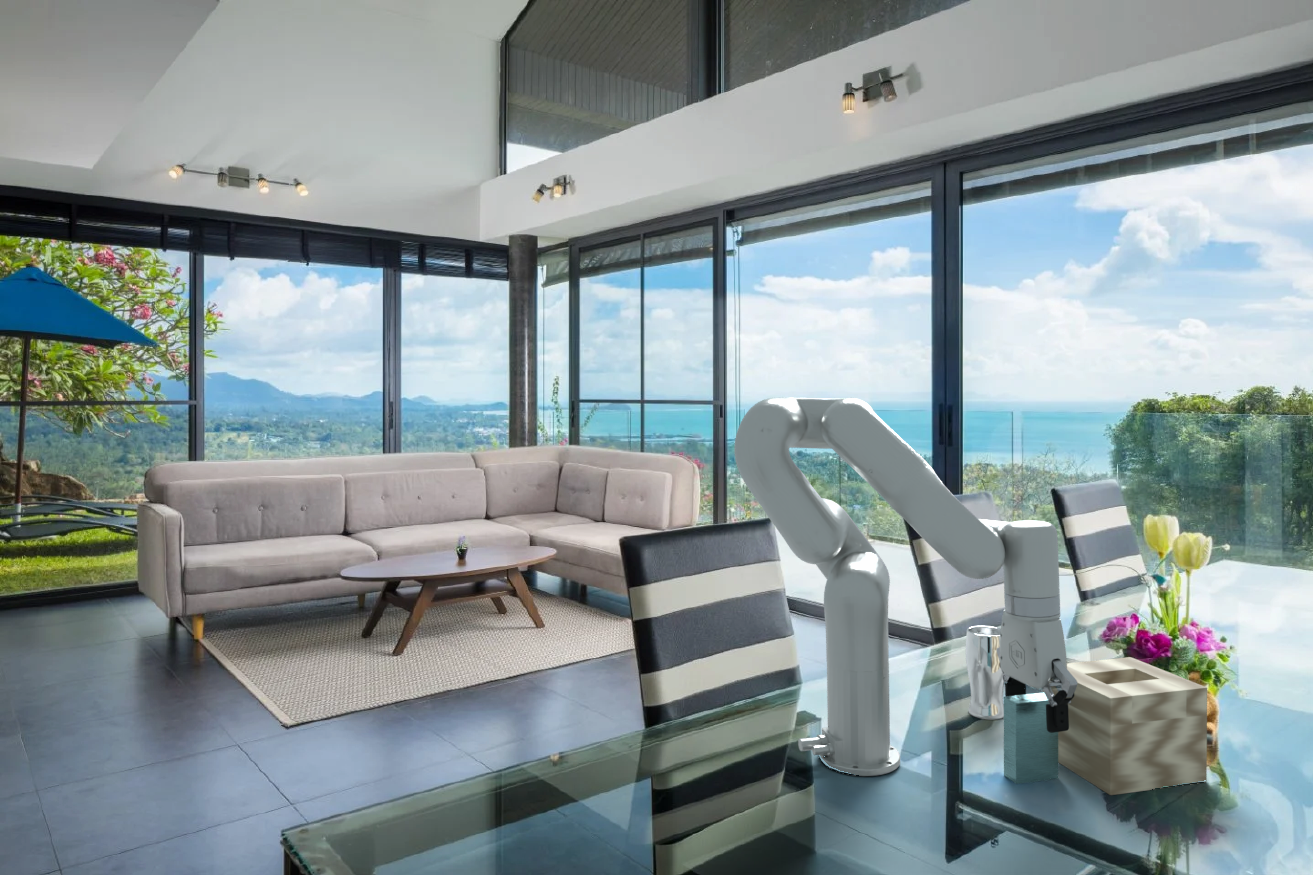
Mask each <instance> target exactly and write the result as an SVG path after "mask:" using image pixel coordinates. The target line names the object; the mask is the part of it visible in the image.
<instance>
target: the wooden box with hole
mask: <svg viewBox="0 0 1313 875" xmlns="http://www.w3.org/2000/svg"><path fill="white" fill-rule="evenodd" d="M1067 670H1068V671H1069V672H1070V673H1071V674H1072V676H1073V677H1074V678H1075V679H1076V680H1077V683H1078V684H1077V687H1076V690H1075V692H1074V697H1073V698H1072V700H1071V704H1068V714H1069V729H1068V730H1067V731H1061V732H1058V764H1060V765H1061V766H1063V767H1065V768H1066V769H1068V770H1070V771H1071V772H1073V773H1074V774H1076V775H1077V776H1079V777H1081V778H1082V779H1084V780H1086V781H1087V782H1088V783H1090V784H1092V785H1093V786H1095V787H1097V788H1098V789H1100V790H1101V791H1103V792H1104V793H1106V794H1108V795H1109V796H1114V795H1116V796H1117V795H1124V794H1129V793H1136V792H1143V791H1145V792H1146V791H1150V790H1151V791H1153V790H1156V789H1155V788H1160V789H1162V788H1161V787H1163V786H1173V785H1178V784H1179V785H1180V784H1182V783H1192V782H1198V781H1204V780H1206V781H1207V775H1208V774H1207V771H1208V770H1207V769H1208V768H1207V767H1208V766H1207V761H1208V760H1207V758H1208V757H1207V756H1208V755H1207V754H1208V750H1207V749H1208V748H1207V747H1208V746H1207V745H1208V738H1207V737H1208V687H1207V686H1205V685H1203V684H1199V683H1196V682H1194V681H1193V680H1189V679H1187V678H1183V677H1181V676H1179V675H1177V674H1174V673H1172V672H1169V671H1167V670H1164V669H1162V668H1159V667H1157V666H1154V665H1151V664H1149V663H1147V662H1144V661H1141V660H1140V659H1137V658H1134V657H1131V656H1128V657H1127V656H1126V657H1117V658H1108V659H1107V658H1106V659H1099V660H1098V659H1096V660H1088V661H1087V660H1086V661H1077V662H1067ZM1049 683H1050V682H1049ZM1052 691H1053V693H1054V696H1055V695H1056V694H1057V693H1058V690H1057V688H1055V689H1052ZM1043 692H1044V691H1043V690H1042V693H1043ZM1152 789H1153V790H1152Z"/></svg>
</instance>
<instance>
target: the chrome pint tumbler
mask: <svg viewBox="0 0 1313 875" xmlns="http://www.w3.org/2000/svg"><path fill="white" fill-rule="evenodd" d="M1000 633H1001V627H997V626H991V625H973V626H969V627H967V629H966V636H965V638H966V639H965V663H966V669H967V675H968V680H969V686H970V698H969V699H970V701H969V704H968V713H969V715H970V716H972V717H975V718H977V719H981V720H987V721H988V720H989V721H996V720H1001V719H1004V696H1003V695H1004V694H1003V691H1004V687H1005V682H1004V681H1003V678H1002V676H1003V672H1002V670H1001V668H1000V666H999V664H1000V661H999V658H998V654H997V648H999V647H1000Z"/></svg>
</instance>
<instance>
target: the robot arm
mask: <svg viewBox="0 0 1313 875" xmlns="http://www.w3.org/2000/svg"><path fill="white" fill-rule="evenodd" d="M790 448H791V449H795V448H797V449H819V450H820V449H823V450H825V449H826V450H827V449H829V450H833V451H834V452H835V453H836V454H837V455H838V457H840V458H841V459H842V460H843V461H844V462H845V463H846V464H847V465H848V466H850V468H851V469H853V471H855V472H856V473H857V475H859V476H860V477H861V478H862V479H863V480H864V481H865V482H866V483H867V484H868V485H869V486H870V487H871V488H872V489H873V490H875V492H877V493H878V494H879V495H880V497H881V498H882V499H884V501H885V502H886V503H888V505H889V506H890V507H891V508H892V509H893V510H894V511H895V512H896V513H897V514H898V515H899V516H900V517H902V518H903V519H904V521H905V522H907V524H908V525H909V526H910V527H911V528H912V529H913V530H914V531H915V532H916V533H917V534H918V535H919V537H921V538H922V539H923V540H924V541H925V542H926V543H927V544H928V545H929V546H930V547H931V548H932V549H933V550H934V551H935V552H936V553H937V554H938V555H939V556H941V557H942V559H943V560H945V561H946V562H947V563H948V564H949V565H950V566H951V567H952V568H953V569H954V570H955V571H956V572H958V573H959V574H961V575H962V576H965V577H967V578H968V579H973V580H984V579H985V580H986V579H987V578H990V577H993V576H994V575H995V574H997V573H998V572H999V571H1000V570H1001V568H1002V569H1003V588H1004V589H1003V590H1004V593H1003V595H1004V609H1003V610H1002V616H1001V624H1000V629H1001V633H1000V647H999V648H997V654H998V658H999V661H1000V664H999V666H1000V668H1001V670H1002V672H1003V676H1002V678H1003V681H1004V692H1005V693H1004V694H1005V696H1004V697H1006V696H1015V695H1024V694H1027V688H1026V687H1027V686H1028V687H1029V688H1032V689H1035V690H1042V692H1043V691H1044V693H1045V695H1046V697H1047V700H1048V702H1049V704H1046V723H1047V731H1048V732H1050V733H1054V732H1061V731H1067V730H1068V729H1069V714H1068V704H1071V700H1072V698H1073V697H1074V692H1075V690H1076V687H1077V684H1078V683H1077V680H1076V679H1075V678H1074V677H1073V676H1072V674H1071V673H1070V672H1069V671H1068V670H1067V663H1068V660H1067V650H1066V649H1067V648H1066V641H1065V634H1064V629H1063V624H1062V619H1061V594H1060V567H1059V565H1060V564H1059V563H1060V561H1059V542H1058V541H1059V540H1058V539H1059V538H1058V530H1057V528H1056V526H1055V525H1054V524H1053V523H1051V522H1047V521H1044V520H1032V519H1025V520H1014V521H1001V520H992V519H985V518H983V519H981V518H978V517H977V516H975V515H974V514H973V513H972V512H971V511H970V510H969V509H968V508H967V507H966V506H965V505H964V504H963V503H962V501H960V500H959V499H958V498H957V497H956V496H955V495H954V494H953V493H952V492H951V491H950V490H949V489H948V487H947V486H946V485H945V483H943V481H942V480H941V479H940V477H939V476H938V475H937V473H936V471H935V470H934V469H933V468H932V466H931V465H930V463H928V461H926V460H925V458H923V456H921V455H920V453H918V452H917V451H916V450H915V449H914V448H912V447H911V445H909V444H908V443H907V442H906V441H905V440H904V438H902V437H901V436H900V435H899V434H897V433H896V431H894V430H893V428H891V426H889V425H888V424H887V423H886V422H885V421H884V420H883V419H882V418H881V417H880V416H879V415H877V413H876V412H875V410H874V409H873V407H872V406H871V405H870V404H869V403H867V402H866V401H864V400H862V399H860V398H856V397H843V398H842V397H840V398H817V397H816V398H813V397H812V398H811V397H810V398H809V397H808V398H807V397H770V398H766V399H762V400H760V401H758V402H757V403H755V404H754V405H752V407H750V408H749V409H748V411H747V412H746V413H745V414H744V416H743V418H742V420H741V421H740V424H739V426H738V429H737V431H736V435H735V439H734V457H735V458H734V459H735V463H736V468H737V470H738V473H739V475H740V477H741V479H742V480H743V482H744V484H745V485H746V487H747V488H748V490H749V491H750V493H751V495H752V496H753V497H754V498H755V500H756V501H757V503H758V504H759V505H760V507H761V508H762V510H763V511H764V513H765V514H766V516H767V517H768V519H769V520H770V521H771V522H772V524H773V526H774V527H775V528H776V530H777V531H778V532H779V533H780V535H781V537H782V538H783V540H784V541H785V543H786V544H787V546H788V547H789V549H790V550H791V551H792V553H793V554H794V555H795V556H796V557H797V558H798V559H799V560H801V561H802V562H805V563H806V564H811V565H816V568H818V570H819V571H820V572H821V573H822V575H823V577H824V578H825V579H826V582H825V585H824V592H823V611H824V622H825V623H824V624H825V645H826V646H825V653H826V654H825V656H826V658H825V659H826V690H827V691H826V693H827V695H826V699H827V726H826V727H821V733H820V734H817V735H816V736H815V737H800V738H798V740H797V744H798V749H799V751H800V752H806V751H812V754H813V756H818V755H820V756H821V758H822V759H823V760H824V761H825V762H826V763H827V764H828V765H829V766H831V767H833V768H836V769H838V770H840V771H844V772H848V773H851V774H855V775H854V776H856V775H859V777H875V776H881V775H882V776H883V775H885V774H886V775H887V774H889V773H892V772H894V771H895V770H897V769H898V767H900V765H901V754H900V751H899V750H898V749H897V748H896V747H894V746H893V745H891V728H890V726H891V725H890V724H891V722H890V714H891V713H890V663H889V662H890V661H889V654H890V652H889V651H890V650H889V595H890V593H889V592H890V586H891V585H890V583H891V582H890V581H891V580H890V579H891V578H890V574H889V570H888V568H887V565H886V564H885V562H884V561H883V559H882V557H881V556H880V554H878V553H877V551H876V550H875V547H874V546H872V544H871V543H870V542H869V540H868V539H867V538H866V536H865V535H864V533H863V532H862V531H861V529H860V528H859V527H858V526H857V524H856V523H855V521H854V520H853V518H852V517H851V516H850V515H849V514H848V512H847V511H846V510H845V509H844V508H843V507H842V506H841V505H839V504H838V503H837V502H836V501H833V500H831V499H829V498H824V497H821V495H820V494H819V493H818V492H817V490H816V489H815V488H814V487H813V486H812V484H811V483H810V481H809V479H808V478H807V477H806V475H805V474H804V473H803V471H802V470H801V469H800V468H799V467H798V466H797V465H796V463H795V462H794V460H793V458H792V456H791V455H790ZM1049 682H1050V683H1049ZM1055 688H1057V690H1058V693H1057V694H1056V695H1055V696H1054V693H1053V691H1052V689H1055ZM824 756H825V757H824Z"/></svg>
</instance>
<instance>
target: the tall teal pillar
mask: <svg viewBox="0 0 1313 875" xmlns="http://www.w3.org/2000/svg"><path fill="white" fill-rule="evenodd" d="M1046 704H1049V702H1048V700H1047V697H1046V695H1045V693H1044V692H1043V691H1042V692H1035V693H1026V694H1024V695H1015V696H1006V697H1005V696H1003V705H1004V717H1003V776H1004V777H1005V778H1007V779H1009V781H1012V783H1014V784H1016V785H1017V784H1018V785H1021V784H1027V783H1035V782H1040V781H1051V780H1058V779H1059V763H1058V732H1054V733H1050V732H1048V731H1047V723H1046Z"/></svg>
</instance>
